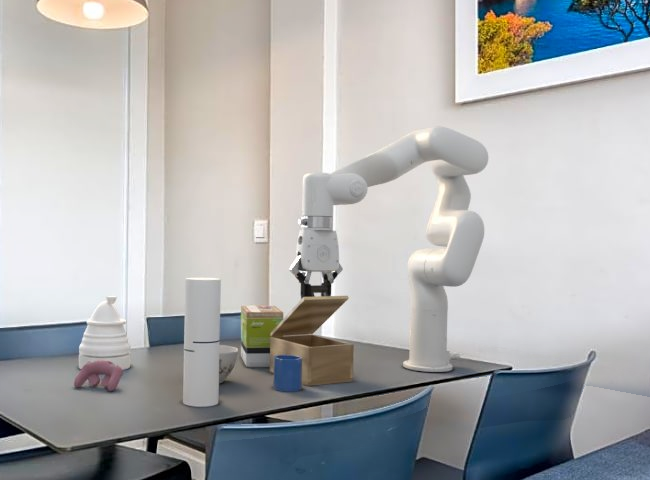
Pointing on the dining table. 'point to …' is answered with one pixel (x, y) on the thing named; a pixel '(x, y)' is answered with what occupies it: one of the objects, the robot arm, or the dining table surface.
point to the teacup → (226, 361)
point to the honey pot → (105, 337)
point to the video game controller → (96, 368)
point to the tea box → (258, 333)
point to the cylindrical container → (201, 341)
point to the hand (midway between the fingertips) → (315, 299)
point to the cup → (287, 373)
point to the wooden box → (316, 357)
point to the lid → (309, 313)
